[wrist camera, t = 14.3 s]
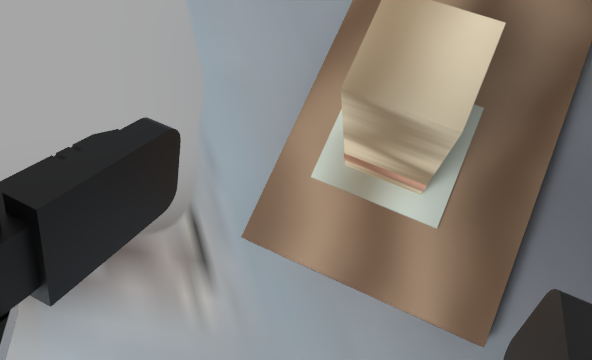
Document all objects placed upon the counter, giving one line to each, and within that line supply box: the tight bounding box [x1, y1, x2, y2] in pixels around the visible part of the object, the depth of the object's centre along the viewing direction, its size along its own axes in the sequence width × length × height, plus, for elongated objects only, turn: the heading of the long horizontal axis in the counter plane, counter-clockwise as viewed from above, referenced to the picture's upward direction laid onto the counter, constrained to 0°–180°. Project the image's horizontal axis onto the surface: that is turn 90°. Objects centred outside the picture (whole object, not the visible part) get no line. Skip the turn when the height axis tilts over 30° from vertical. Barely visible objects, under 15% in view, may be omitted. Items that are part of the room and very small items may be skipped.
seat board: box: [242, 0, 592, 347], centre depth 27 cm, size 14×21×2 cm, turn 156°
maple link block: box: [341, 0, 506, 195], centre depth 21 cm, size 5×5×10 cm
